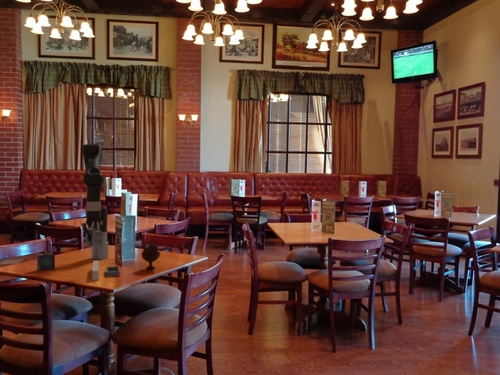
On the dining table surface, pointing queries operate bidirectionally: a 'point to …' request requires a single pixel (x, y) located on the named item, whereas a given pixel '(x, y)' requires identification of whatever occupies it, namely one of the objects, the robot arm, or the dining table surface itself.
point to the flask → (46, 261)
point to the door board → (95, 270)
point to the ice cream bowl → (150, 255)
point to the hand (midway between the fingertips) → (93, 240)
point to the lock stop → (94, 238)
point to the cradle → (112, 271)
